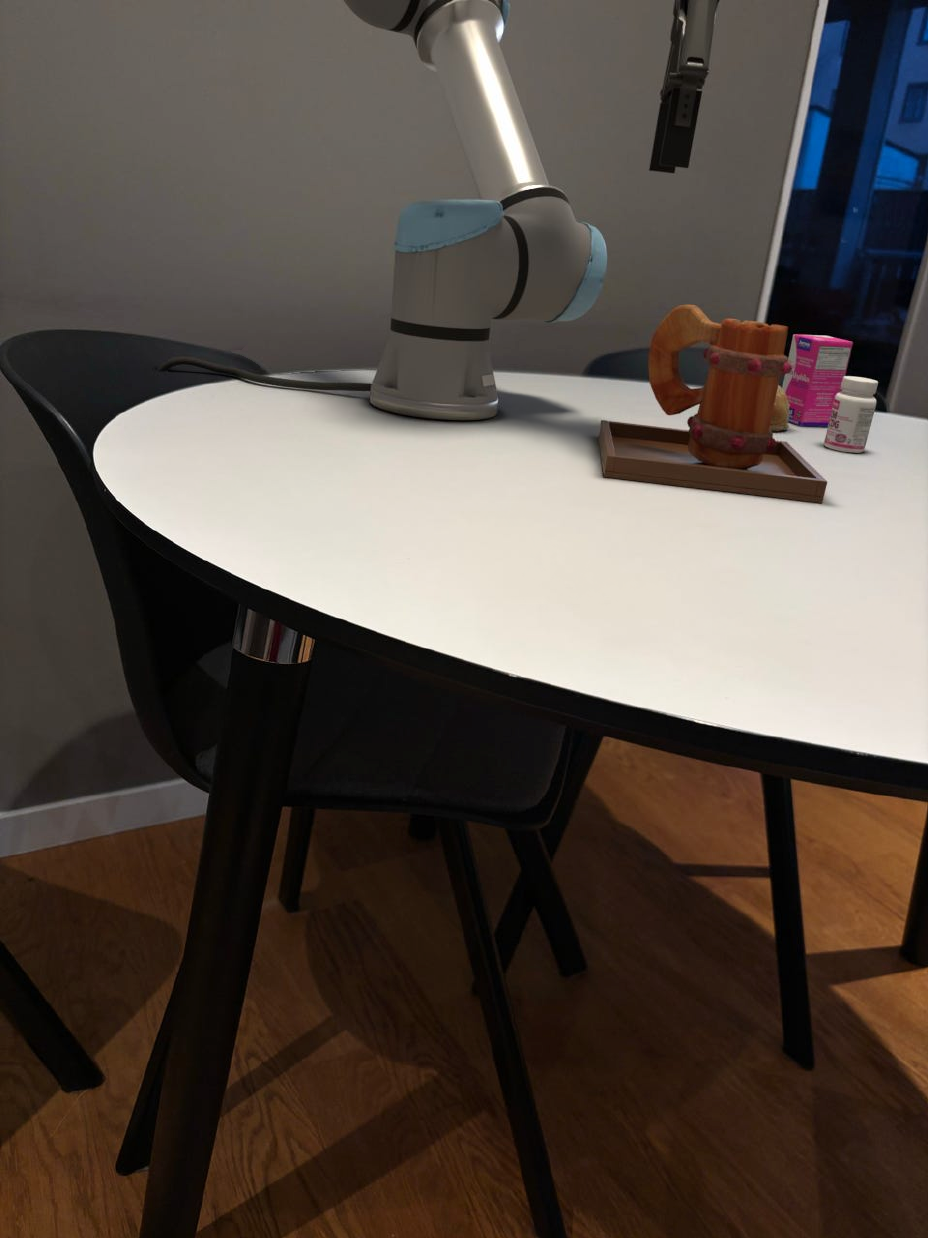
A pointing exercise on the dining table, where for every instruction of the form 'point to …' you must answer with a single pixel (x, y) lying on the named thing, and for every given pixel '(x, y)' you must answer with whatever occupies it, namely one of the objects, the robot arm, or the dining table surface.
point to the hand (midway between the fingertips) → (667, 169)
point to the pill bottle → (851, 415)
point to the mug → (721, 384)
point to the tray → (702, 464)
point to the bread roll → (780, 412)
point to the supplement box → (815, 377)
